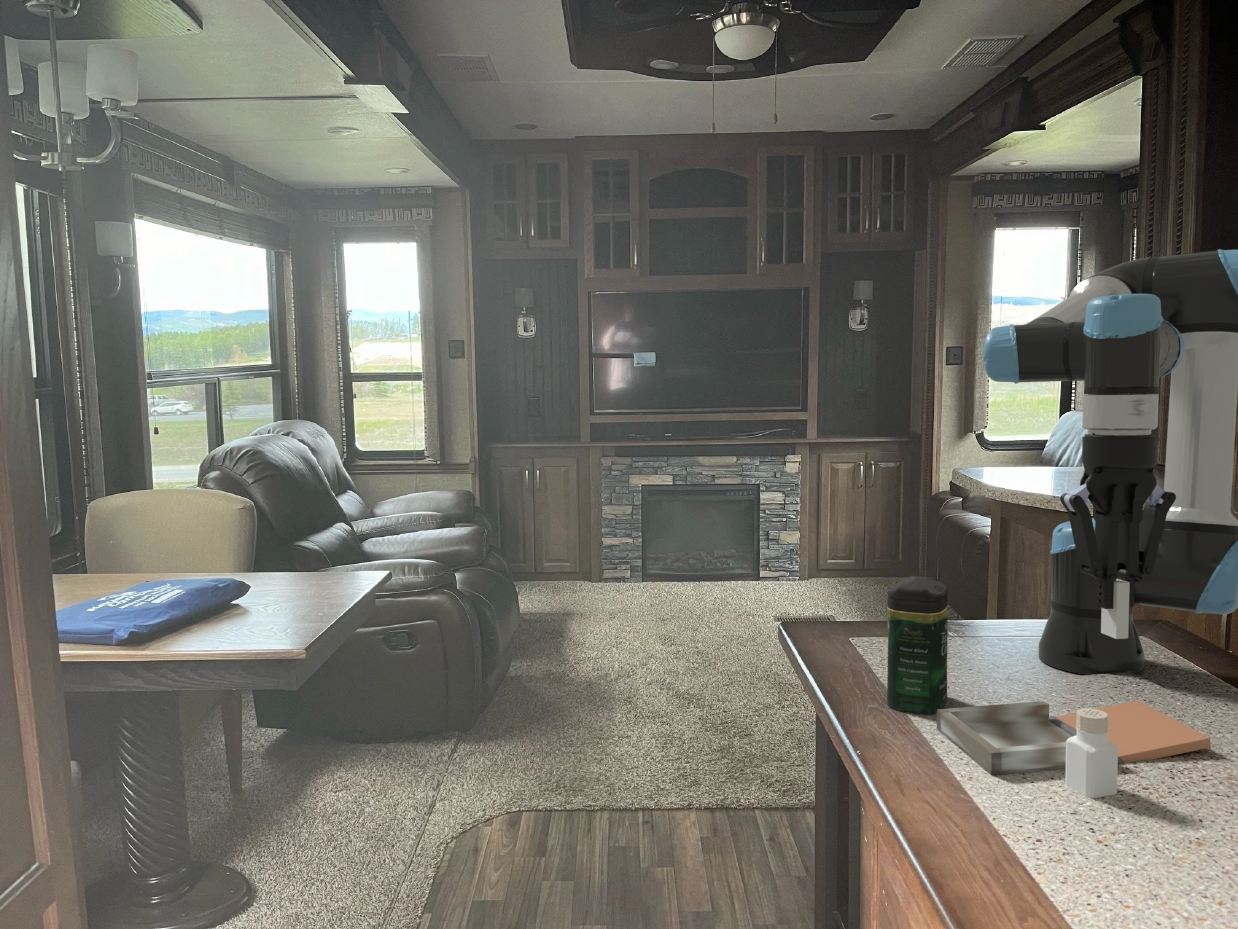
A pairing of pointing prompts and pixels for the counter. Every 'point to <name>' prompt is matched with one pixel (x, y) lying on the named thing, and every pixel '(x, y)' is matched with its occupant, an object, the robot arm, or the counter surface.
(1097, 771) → the pepper shaker
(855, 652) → the counter surface
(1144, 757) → the panel
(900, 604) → the coffee jar
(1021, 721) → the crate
